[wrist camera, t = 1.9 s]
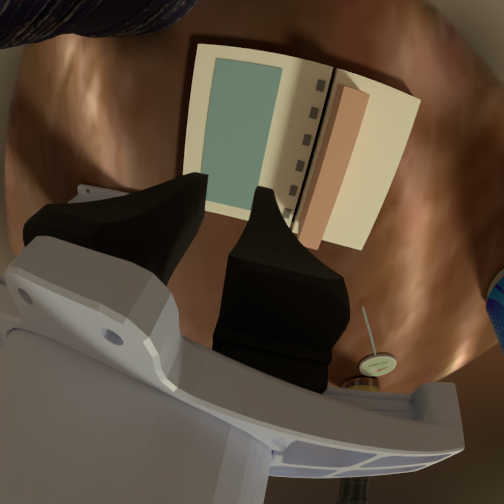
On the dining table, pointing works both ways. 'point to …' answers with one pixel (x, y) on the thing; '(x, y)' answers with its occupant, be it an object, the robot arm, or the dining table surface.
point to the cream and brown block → (353, 160)
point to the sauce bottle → (356, 488)
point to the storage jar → (85, 18)
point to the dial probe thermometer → (376, 359)
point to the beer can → (497, 306)
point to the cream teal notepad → (252, 125)
